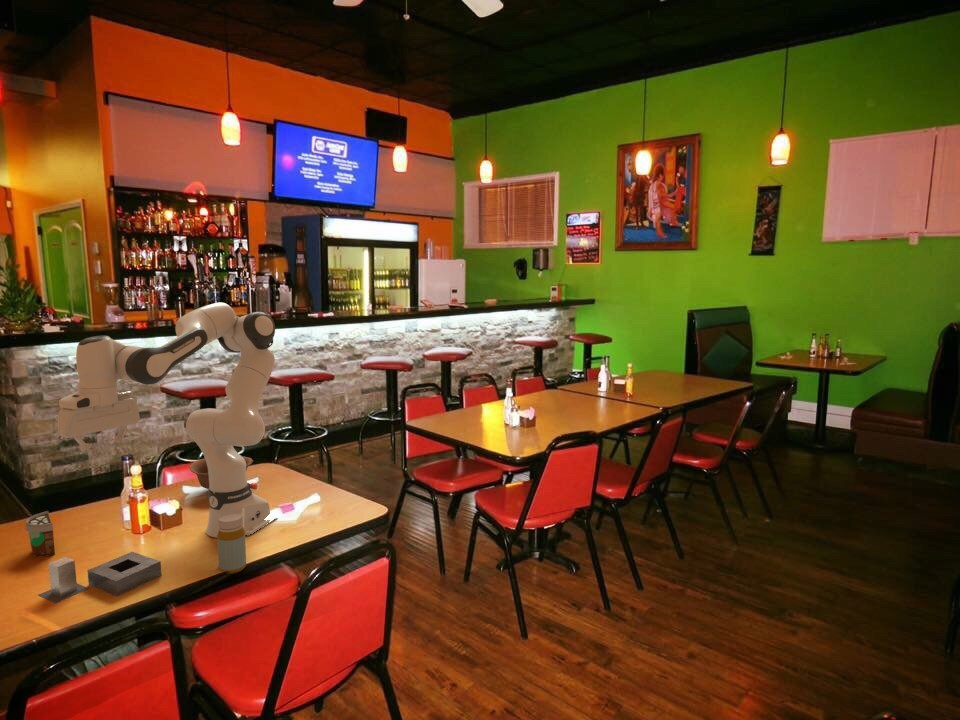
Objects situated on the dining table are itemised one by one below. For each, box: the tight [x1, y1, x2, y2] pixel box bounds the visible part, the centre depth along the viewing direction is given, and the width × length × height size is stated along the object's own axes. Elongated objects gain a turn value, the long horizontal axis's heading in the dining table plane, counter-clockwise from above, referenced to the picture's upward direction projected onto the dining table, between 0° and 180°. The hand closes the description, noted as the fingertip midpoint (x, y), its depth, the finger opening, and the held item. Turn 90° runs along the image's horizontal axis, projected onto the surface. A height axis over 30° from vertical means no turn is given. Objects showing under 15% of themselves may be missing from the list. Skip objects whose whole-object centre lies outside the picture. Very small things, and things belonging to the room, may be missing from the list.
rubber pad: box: [37, 583, 90, 604], centre depth 153 cm, size 8×8×1 cm
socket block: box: [87, 551, 162, 597], centre depth 159 cm, size 12×12×5 cm
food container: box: [24, 510, 56, 557], centre depth 176 cm, size 12×6×10 cm, turn 40°
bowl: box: [188, 455, 254, 490], centre depth 227 cm, size 22×22×11 cm
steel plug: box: [48, 556, 78, 597], centre depth 153 cm, size 4×4×8 cm
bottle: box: [217, 513, 247, 575], centre depth 167 cm, size 7×7×15 cm
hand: (102, 446), depth 165 cm, fingers open, 8 cm apart
